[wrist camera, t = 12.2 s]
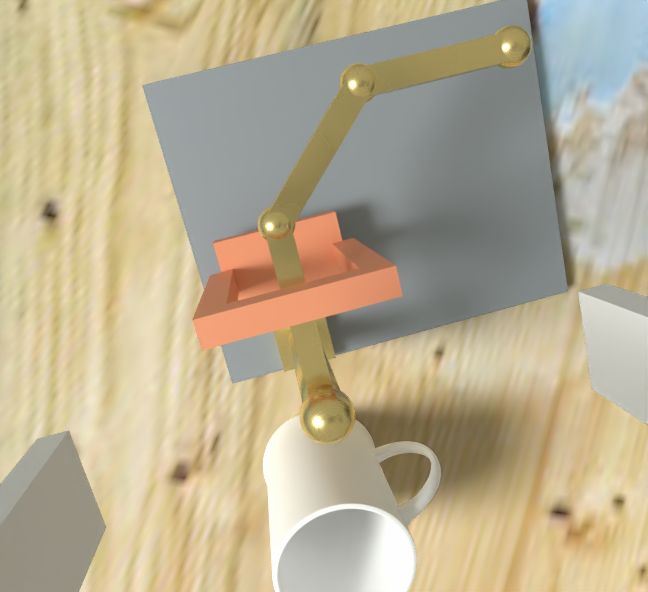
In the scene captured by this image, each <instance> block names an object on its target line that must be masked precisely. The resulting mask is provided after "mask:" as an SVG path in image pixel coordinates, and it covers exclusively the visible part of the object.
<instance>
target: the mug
mask: <svg viewBox="0 0 648 592" xmlns="http://www.w3.org/2000/svg"><path fill="white" fill-rule="evenodd" d="M299 415H300V414H298V415H296V416H294V417H292V418H291V419H289V420H288V421H286V422H285V423H284V424H283V425H281V426H280V427H279V428H278V429H277V431H276V432H275V433H274V434H273V436H272V437H271V439H270V441H269V443H268V445H267V447H266V450H265V454H264V459H263V472H264V477H265V481H266V484H267V487H268V504H269V523H270V542H271V561H272V577H273V584H274V589H275V592H408V591H409V589H410V587H411V585H412V583H413V580H414V577H415V573H416V566H417V555H416V549H415V545H414V542H413V539H412V537H411V534H410V532H409V530H408V527H407V526H408V525H409V524H410V522H411V521H412V520H413V519H414V518H415V517H416V516H417V515H419V514H420V513H421V512H422V511H423V510H424V508H425V507H426V506H427V505H428V504H429V502H430V501H431V500H432V498H433V497H434V495H435V493H436V491H437V489H438V486H439V483H440V479H441V467H440V463H439V460H438V458H437V456H436V455H435V453H434V452H433V451H432V450H431V449H430V448H429V447H427V446H425V445H423V444H421V443H418V442H412V441H400V442H394V443H389V444H386V445H383V446H380V447H376V448H375V445H374V442H373V439H372V437H371V435H370V434H369V432H368V431H367V429H366V428H365V427H364V426H363V425H362V424H361V423H360V422H359V421H358V420H356V419H355V424H354V427H353V429H352V431H351V433H350V434H349V435H348V436H347V437H346V438H345V439H344V440H342V441H341V442H339V443H336V444H332V445H323V444H319V443H316V442H314V441H313V440H311V439H310V438H309V437H308V436H307V435H306V434H305V433H304V431H303V429H302V427H301V424H300V416H299ZM403 453H418V454H422V455H424V456H426V457H427V458H429V459H430V461H431V471H430V475H429V477H428V479H427V481H426V483H425V484H424V486H423V487H422V489H421V490H420V491H419V492H418V493H417V494H416V495H415V496H414V497H413V498H412V499H411V500H409V501H408V502H406V503H404V504H403V505H401V506H399V507H398V505H397V502H396V500H395V498H394V495H393V493H392V491H391V489H390V486H389V484H388V482H387V480H386V477H385V475H384V473H383V470H382V468H381V466H380V464H379V463H380V462H382V461H383V460H385V459H387V458H389V457H391V456H394V455H398V454H403Z"/></svg>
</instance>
